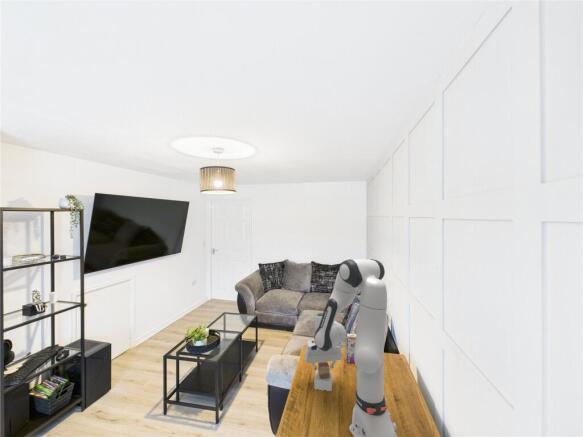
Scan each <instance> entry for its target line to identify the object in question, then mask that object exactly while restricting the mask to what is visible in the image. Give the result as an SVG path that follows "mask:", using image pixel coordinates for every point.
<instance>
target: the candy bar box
mask: <svg viewBox="0 0 583 437" xmlns="http://www.w3.org/2000/svg"><path fill="white" fill-rule="evenodd" d="M355 340H356V333H347V337H346V340H345V341H346V344H345V347H346V348H345V350H346V351H345V358H346V363H347V364H348V363H349V364H355V361H354V349H355Z"/></svg>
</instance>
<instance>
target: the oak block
mask: <svg viewBox="0 0 583 437" xmlns="http://www.w3.org/2000/svg"><path fill="white" fill-rule="evenodd" d="M317 368H318V369H317V370H318V374H319V376H320V379H327V378H330V372H331V371H330V370H331V368H330V364H329V362H328V361H325V362H317Z"/></svg>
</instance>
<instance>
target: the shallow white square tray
mask: <svg viewBox="0 0 583 437" xmlns="http://www.w3.org/2000/svg"><path fill="white" fill-rule="evenodd" d="M313 384H314V390H317V389H319V390H318V391H324V390H326V391H325V392H332V391H333V372H332V371H330V378H327V379H320V376H319V374H318V369H317V370H315V376H314V381H313Z"/></svg>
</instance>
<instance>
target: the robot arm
mask: <svg viewBox="0 0 583 437" xmlns="http://www.w3.org/2000/svg"><path fill="white" fill-rule="evenodd" d="M384 277H385V266H384V265H383V263H382V262H380V260H377V259H373V258H370V259H368V258H354V259H346V260H343V261H341V263H340V265H339V268H338V272H337V275H336V278H335V281H334V284H333V289H332V292H331V295H330V297H329V298H328V301H327V303H326V305H325V307H324V310H323V312H319V313H317V314H316V315H315V318H314V319H315V320H314V331H315V332H314V335H313V338H311V339H308V340H307V341H306V347H305V350H304V360H305V363H306V364H311V365H312V367H313V371H316V370H318V369H317V368H318V365H316V364H315V363H318V362H331V363H329V367H330V370H331V369H335V368H334V366H335V364H336V363H337V361H341V360H342V359H343V354H342V347H343V346H342V345H343V344H342V343H343V342H345V341H346V337H347V334H348V332H347V329H346V327H345V326H344V325H343V324H342V323H340V322H338V321H336V318H337V316H338V315H339V314H340V313H341V312H342V311H343V310H345V309H346V308H348V307H349V306H351V305H352V304H353V302H354V301H355V298H356V296H357V291H358V288H359V290H360V298H359V305H358V306H359V309H358V320H357V325H356V326H357V327H356V333H355V334H356V340H355V349H354V361H355V363H354V364H355V366H356V389H355V396H354V398H355V403H354V407H353V409H352V419H351V424H350V425H349V428H348V430H349V432H350V433H351V435H352V437H398V435H397V433H396V430H397V424H396V422H392V419H391V413H390V412H389V411H388V409H387V408H388V407H387V401H386V397H385V392H384V391H385V390H384V388H385V387H384V369H385V368H384V367H385V363H384V362H385V358H384V356H385V353H384V350H385V349H384V348H385V346H384V345H385V344H384V342H385V334H386V332H385V330H386V322H387V309H388V291H387V285H386V283H385V281H383V278H384Z"/></svg>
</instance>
